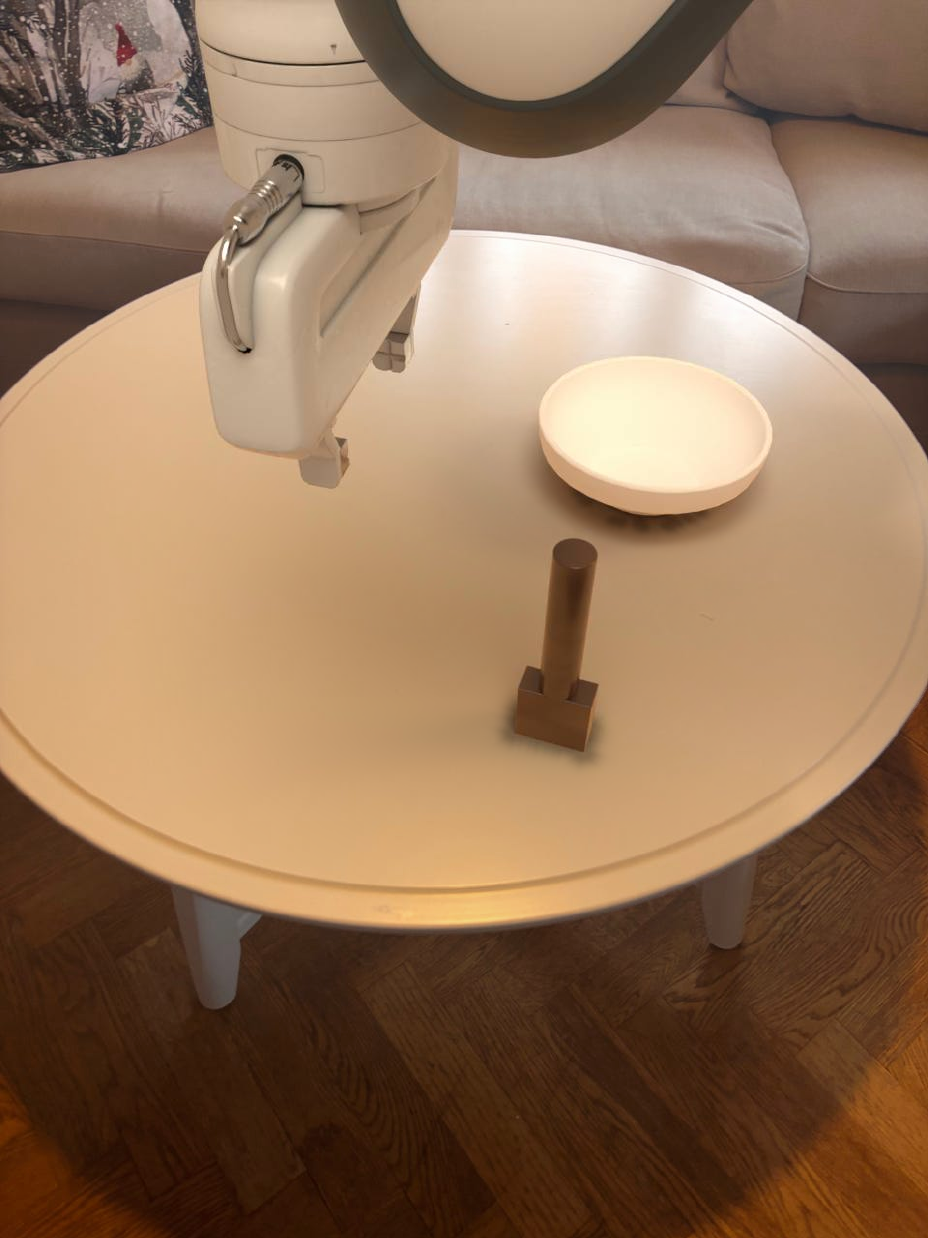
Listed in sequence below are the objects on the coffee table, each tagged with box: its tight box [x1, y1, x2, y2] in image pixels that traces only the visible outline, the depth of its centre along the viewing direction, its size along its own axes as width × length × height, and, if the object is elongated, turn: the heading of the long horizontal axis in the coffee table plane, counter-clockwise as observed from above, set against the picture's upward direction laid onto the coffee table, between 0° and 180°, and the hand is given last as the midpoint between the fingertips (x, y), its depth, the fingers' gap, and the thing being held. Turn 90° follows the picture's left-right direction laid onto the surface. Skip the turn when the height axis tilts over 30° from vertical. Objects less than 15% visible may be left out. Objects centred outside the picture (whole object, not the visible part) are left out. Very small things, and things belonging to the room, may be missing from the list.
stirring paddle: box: [514, 537, 600, 753], centre depth 62 cm, size 5×3×17 cm, turn 71°
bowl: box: [537, 355, 773, 516], centre depth 84 cm, size 20×20×7 cm
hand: (362, 417), depth 47 cm, fingers open, 8 cm apart
